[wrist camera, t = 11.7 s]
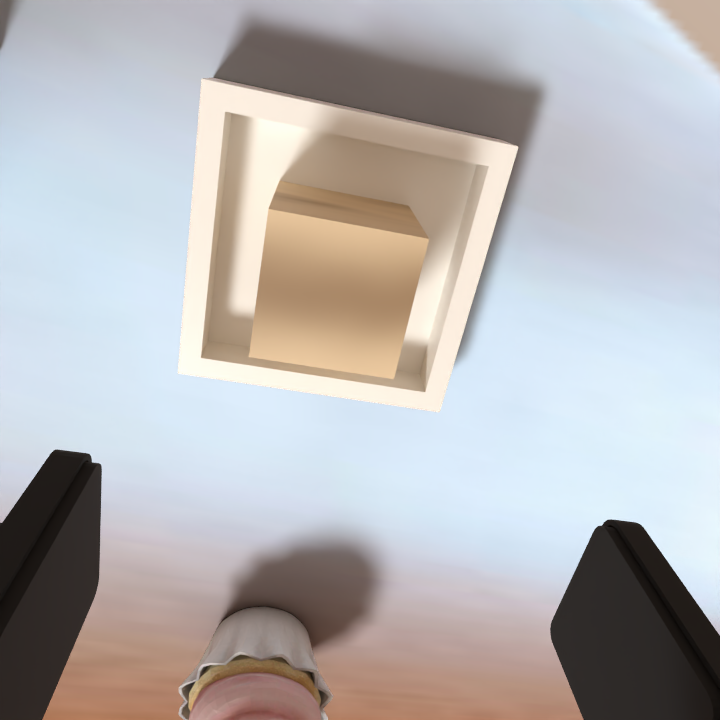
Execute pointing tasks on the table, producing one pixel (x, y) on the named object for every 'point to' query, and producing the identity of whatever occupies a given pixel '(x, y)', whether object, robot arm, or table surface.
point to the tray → (346, 175)
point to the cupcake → (256, 672)
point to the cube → (336, 280)
